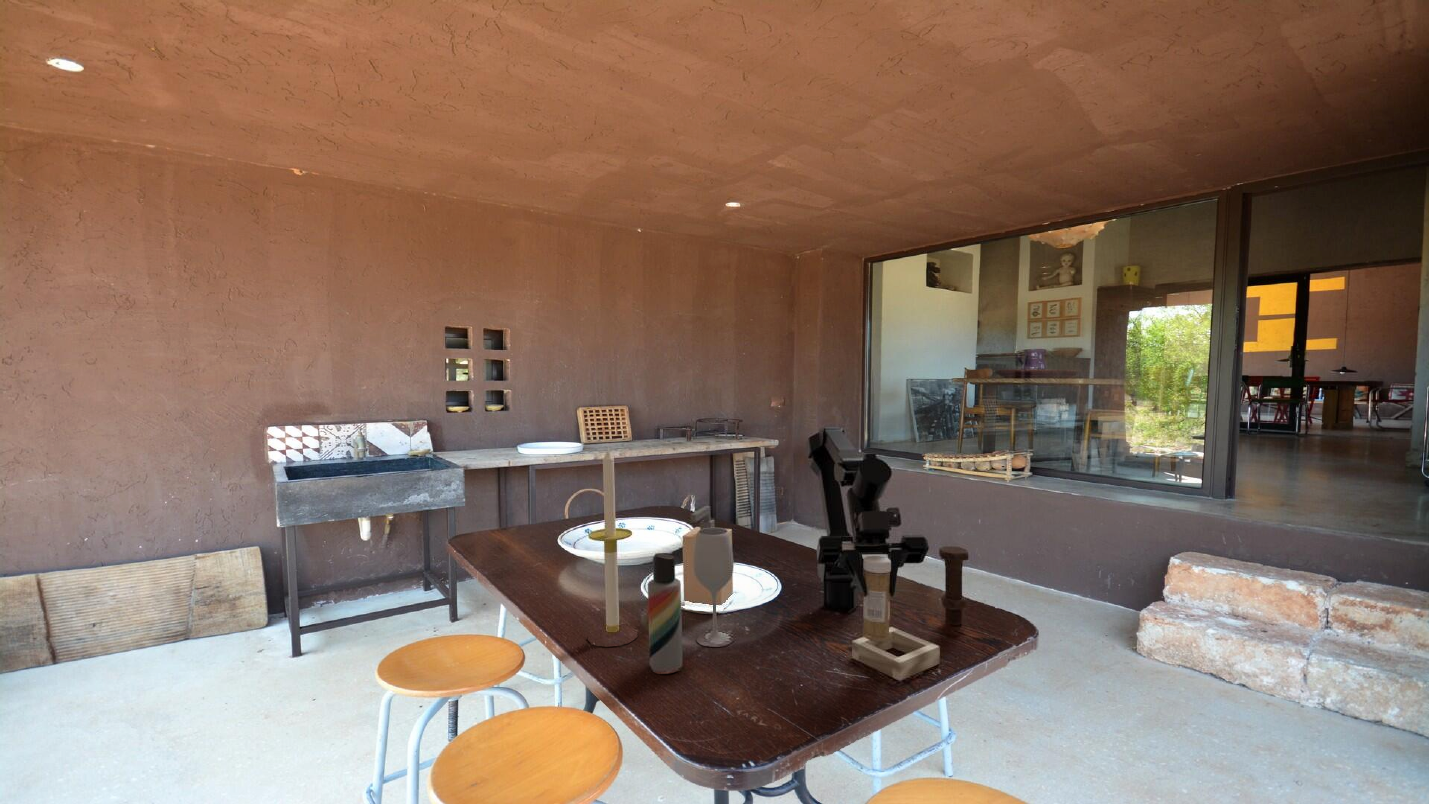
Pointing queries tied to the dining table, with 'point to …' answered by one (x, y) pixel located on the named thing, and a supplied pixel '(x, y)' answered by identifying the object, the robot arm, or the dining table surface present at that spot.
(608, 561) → the candle
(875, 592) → the sprinkles bottle
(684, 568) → the soap dispenser
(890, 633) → the collar
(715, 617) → the wineglass
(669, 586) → the lotion bottle
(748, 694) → the dining table surface
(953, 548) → the bolt
